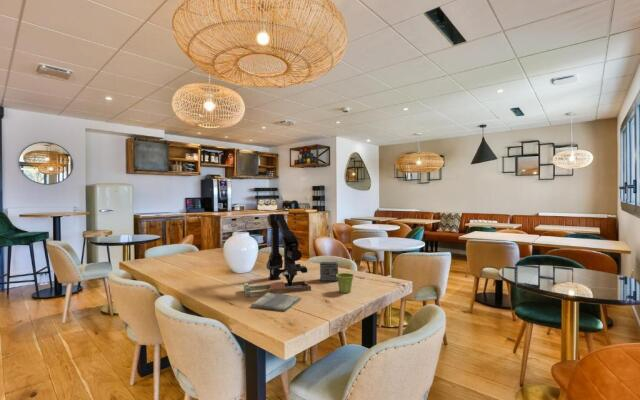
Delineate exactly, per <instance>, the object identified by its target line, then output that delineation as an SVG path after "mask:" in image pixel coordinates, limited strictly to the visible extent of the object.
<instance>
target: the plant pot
mask: <svg viewBox="0 0 640 400" xmlns="http://www.w3.org/2000/svg"><path fill="white" fill-rule="evenodd" d="M336 276H337V279H338V282H337V284H338V292H340V293H341V294H347V293H348V294H349V293H351V292H352V286H353V279H354V277H355V275H354V274H353V273H350V272H338V274H337V275H336Z"/></svg>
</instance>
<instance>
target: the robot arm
mask: <svg viewBox="0 0 640 400" xmlns="http://www.w3.org/2000/svg"><path fill="white" fill-rule="evenodd" d="M267 223H268V226H269V228H270V238H271V239H270V249H271V251H270V254H269V255H268V260H267V263H266V266H265V267H266V269H267V270H268V271H269V276H268V279H269V280H270V281H272V280H275V281H276V280H280V279H281V277H280V276H281V274H282V275H283V277H285V279H286V283H287V282H288V285H289V286H291V284H292V282H294V278H295V276H297V275H298V272H300V273H302V274H304V273H305V274H307V273H308V267H307V266H305V265H301V263H296V262H298V261H300V260H301V258H302V252H301V250H299V247H300V243H299V240H298V238H297V236H296V234H295V232H294V231H292V230H291V229H290V227H289V225H288V223H287V221H286V219H285V214H283V213H270V214H268V216H267ZM280 233H281V239H280ZM280 240H281V243H282V244H281V245H282V246H283V256H282V255H281V253H280Z"/></svg>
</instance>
